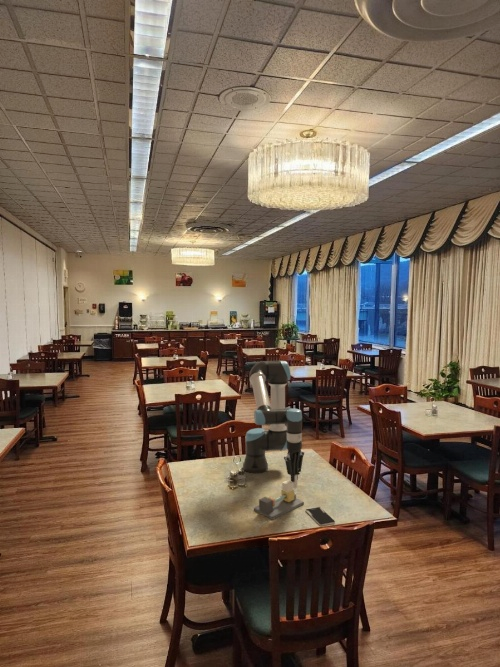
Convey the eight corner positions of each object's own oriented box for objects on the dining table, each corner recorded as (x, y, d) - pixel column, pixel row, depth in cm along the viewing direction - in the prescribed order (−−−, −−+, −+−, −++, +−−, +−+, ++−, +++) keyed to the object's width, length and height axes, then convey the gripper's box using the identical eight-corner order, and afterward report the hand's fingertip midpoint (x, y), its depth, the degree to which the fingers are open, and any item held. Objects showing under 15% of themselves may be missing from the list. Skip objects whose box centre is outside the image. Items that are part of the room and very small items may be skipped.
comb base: (254, 510, 195) (254, 497, 195) (285, 496, 210) (285, 483, 209) (271, 519, 186) (271, 505, 186) (303, 504, 201) (303, 491, 200)
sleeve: (281, 499, 202) (281, 482, 202) (287, 496, 205) (287, 479, 204) (288, 502, 199) (288, 484, 198) (294, 499, 201) (294, 482, 201)
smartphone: (320, 524, 180) (304, 508, 194) (320, 527, 180) (304, 511, 194) (335, 521, 182) (319, 506, 197) (335, 524, 183) (319, 509, 197)
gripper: (291, 445, 196) (291, 493, 197) (308, 439, 205) (308, 485, 206) (279, 441, 202) (279, 488, 203) (297, 436, 210) (297, 481, 212)
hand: (294, 487), depth 205 cm, fingers closed
